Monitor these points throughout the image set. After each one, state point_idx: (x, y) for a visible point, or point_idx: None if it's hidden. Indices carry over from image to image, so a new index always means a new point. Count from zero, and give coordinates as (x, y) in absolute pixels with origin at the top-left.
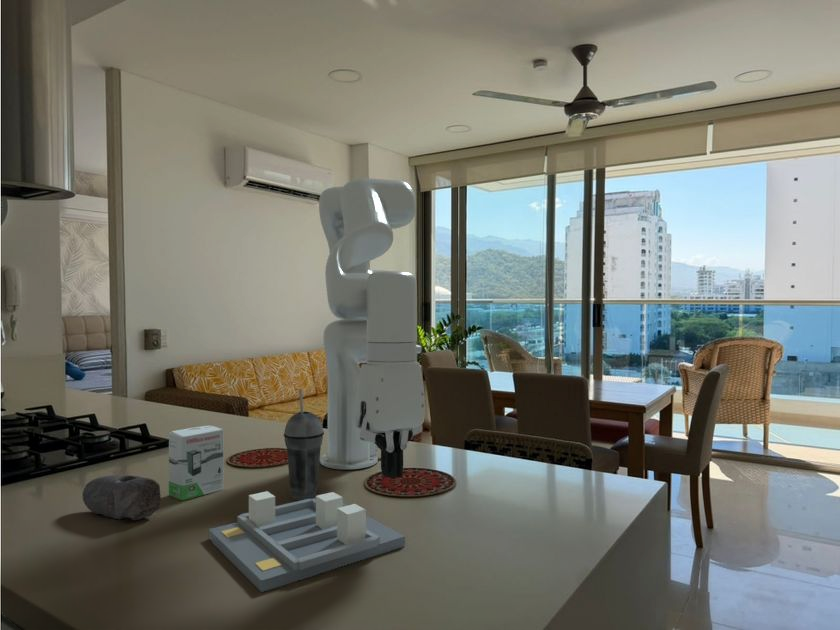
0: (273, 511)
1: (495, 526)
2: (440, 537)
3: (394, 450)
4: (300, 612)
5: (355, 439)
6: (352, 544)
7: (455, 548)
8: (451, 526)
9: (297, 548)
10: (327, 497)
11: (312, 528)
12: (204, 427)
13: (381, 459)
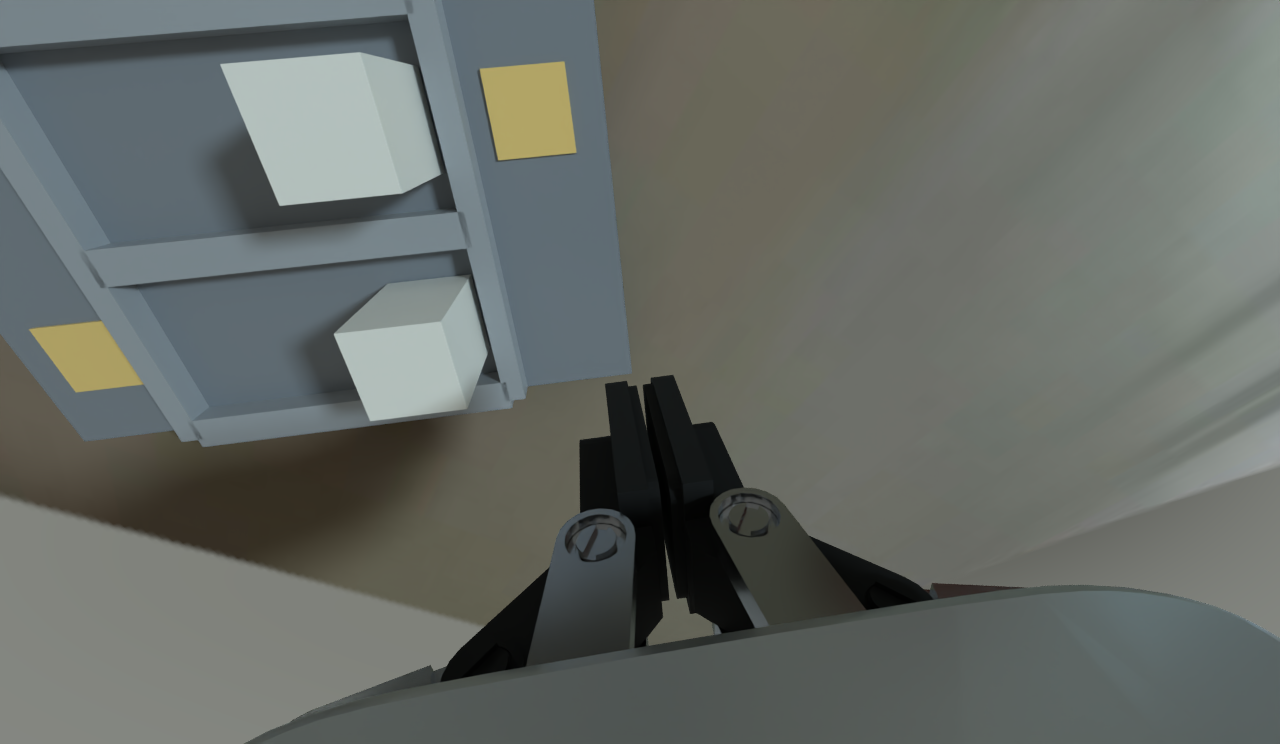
0: None
1: (954, 365)
2: (764, 352)
3: (684, 559)
4: (238, 531)
5: None
6: None
7: (746, 430)
8: (856, 297)
9: (211, 281)
10: (302, 145)
11: None
12: None
13: (581, 486)
